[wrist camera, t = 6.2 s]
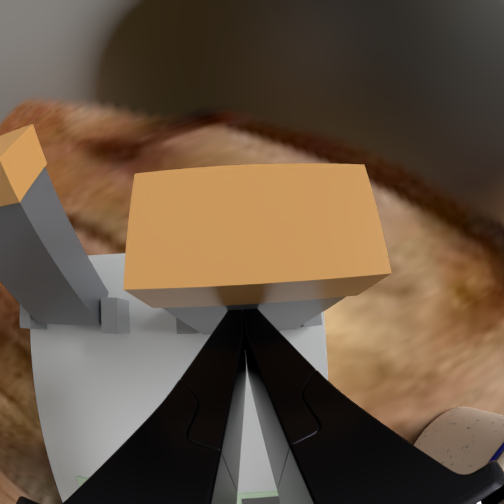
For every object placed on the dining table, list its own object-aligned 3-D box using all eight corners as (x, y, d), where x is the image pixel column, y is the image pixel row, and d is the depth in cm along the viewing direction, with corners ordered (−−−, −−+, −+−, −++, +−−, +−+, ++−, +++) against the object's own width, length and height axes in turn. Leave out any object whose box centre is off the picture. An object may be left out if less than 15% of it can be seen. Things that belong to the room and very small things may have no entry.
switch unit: (322, 528, 15) (333, 553, 11) (78, 516, 14) (61, 534, 10) (311, 248, 20) (324, 233, 17) (43, 263, 19) (16, 252, 16)
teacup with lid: (381, 462, 16) (474, 535, 5) (462, 380, 18) (575, 392, 7) (430, 523, 14) (498, 576, 3) (496, 455, 16) (577, 480, 4)
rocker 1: (102, 327, 15) (-1, 158, 7) (36, 324, 15) (-66, 185, 7) (110, 290, 17) (32, 123, 9) (46, 291, 17) (-37, 152, 8)
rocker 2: (297, 330, 16) (391, 273, 6) (201, 336, 16) (123, 289, 5) (292, 284, 17) (364, 164, 6) (200, 290, 17) (135, 173, 6)
